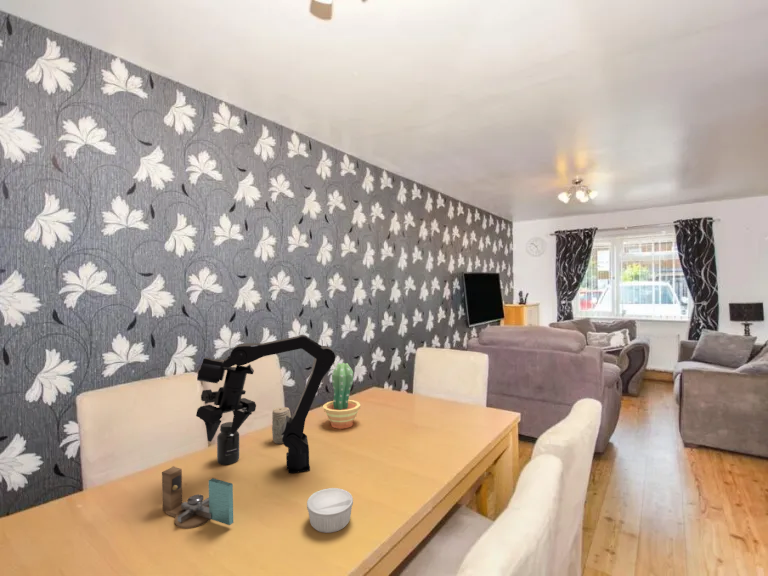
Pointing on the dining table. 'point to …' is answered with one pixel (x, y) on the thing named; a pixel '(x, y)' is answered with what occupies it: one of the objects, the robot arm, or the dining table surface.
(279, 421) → the beige piece
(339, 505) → the ramekin
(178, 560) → the dining table surface
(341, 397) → the potted cactus
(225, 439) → the supplement bottle
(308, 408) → the robot arm
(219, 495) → the turnstile
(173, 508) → the stand
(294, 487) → the dining table surface
